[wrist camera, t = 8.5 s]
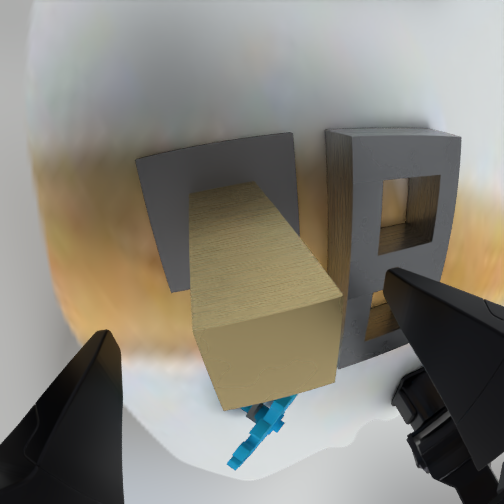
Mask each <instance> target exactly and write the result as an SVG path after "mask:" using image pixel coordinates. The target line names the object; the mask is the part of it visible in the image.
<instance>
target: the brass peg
mask: <svg viewBox="0 0 504 504" xmlns="http://www.w3.org/2000/svg"><path fill="white" fill-rule="evenodd" d="M189 258H190V289H191V310H192V328H193V334H194V336H195V339H196V342H197V345H198V347H199V350H200V353H201V356H202V358H203V361H204V363H205V366H206V369H207V371H208V374H209V376H210V379H211V381H212V384H213V386H214V389H215V391H216V394H217V396H218V399H219V401H220V403H221V406H222V408H223V411H226V410H231V409H236V408H241V407H246V406H250V405H255V404H259V403H263V402H268V401H272V400H276V399H280V398H283V397H287V396H291V395H295V394H298V393H302V392H305V391H309V390H312V389H315V388H318V387H322V386H325V385H328V384H331V383H334V382H335V376H336V369H337V361H338V353H339V344H340V334H341V324H342V313H343V300H344V295H343V294H342V293H341V291H340V290H339V289H338V287H337V286H336V285H335V283H334V282H333V281H332V279H331V278H330V277H329V275H328V274H327V273H326V271H325V270H324V269H323V267H322V266H321V265H320V263H319V262H318V261H317V259H316V258H315V257H314V255H313V254H312V253H311V252H310V250H309V249H308V248H307V246H306V245H305V244H304V243H303V241H302V240H301V239H300V237H299V236H298V235H297V234H296V232H295V231H294V230H293V228H292V227H291V226H290V225H289V223H288V222H287V221H286V220H285V218H284V217H283V216H282V215H281V213H280V212H279V211H278V210H277V208H276V207H275V206H274V205H273V203H272V202H271V201H270V200H269V198H268V197H267V196H266V195H265V194H264V192H263V191H262V190H261V189H260V187H259V186H258V185H257V184H256V183H255V181H252V182H246V183H241V184H235V185H230V186H225V187H219V188H214V189H209V190H204V191H199V192H195V193H190V194H189Z"/></svg>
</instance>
